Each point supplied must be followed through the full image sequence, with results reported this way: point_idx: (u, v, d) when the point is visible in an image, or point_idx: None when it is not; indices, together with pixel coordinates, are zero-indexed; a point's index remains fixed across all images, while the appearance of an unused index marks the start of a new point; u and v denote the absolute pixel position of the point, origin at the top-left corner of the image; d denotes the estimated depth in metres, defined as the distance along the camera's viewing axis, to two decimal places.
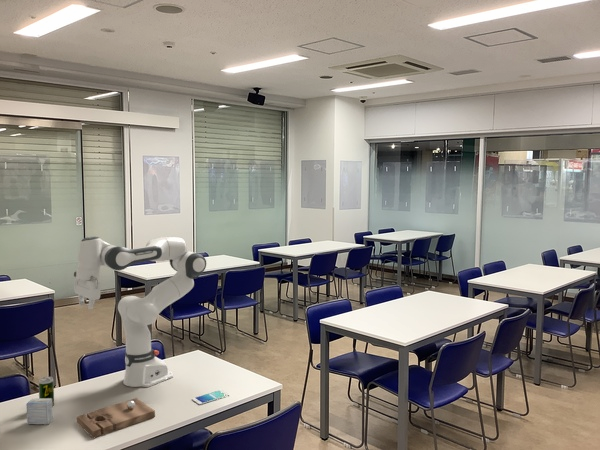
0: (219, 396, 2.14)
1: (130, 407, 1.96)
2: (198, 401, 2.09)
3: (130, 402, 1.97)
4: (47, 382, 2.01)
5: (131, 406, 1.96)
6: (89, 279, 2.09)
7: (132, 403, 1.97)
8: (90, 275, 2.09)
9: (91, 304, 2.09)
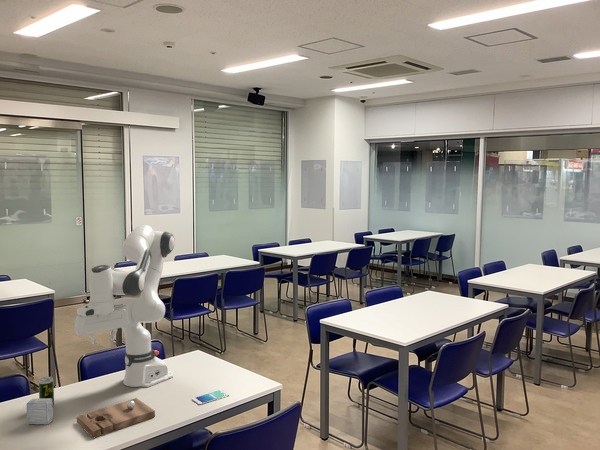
0: (219, 396, 2.14)
1: (130, 407, 1.96)
2: (198, 401, 2.09)
3: (130, 402, 1.97)
4: (47, 382, 2.01)
5: (131, 406, 1.96)
6: (113, 309, 1.98)
7: (132, 403, 1.97)
8: (113, 305, 1.98)
9: None
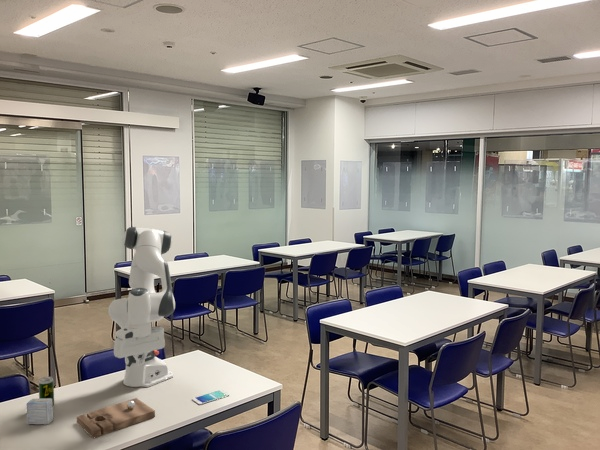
0: (219, 396, 2.14)
1: (130, 407, 1.96)
2: (198, 401, 2.09)
3: (130, 402, 1.97)
4: (47, 382, 2.01)
5: (131, 406, 1.96)
6: (151, 331, 2.01)
7: (132, 403, 1.97)
8: None
9: None
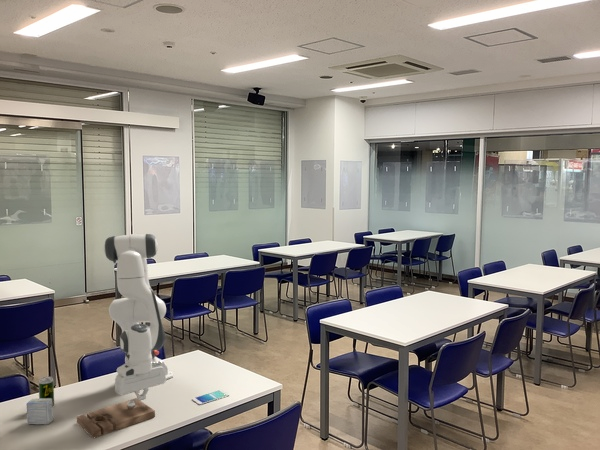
0: (219, 396, 2.14)
1: (130, 407, 1.96)
2: (198, 401, 2.09)
3: (130, 402, 1.97)
4: (47, 382, 2.01)
5: (131, 406, 1.96)
6: (152, 367, 2.01)
7: (132, 403, 1.97)
8: None
9: None
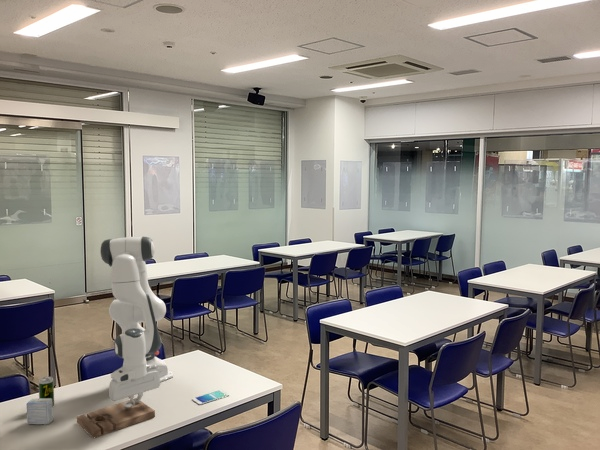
0: (219, 396, 2.14)
1: (128, 409, 1.96)
2: (198, 401, 2.09)
3: (125, 405, 1.95)
4: (47, 382, 2.01)
5: (129, 408, 1.95)
6: None
7: (128, 405, 1.95)
8: None
9: None
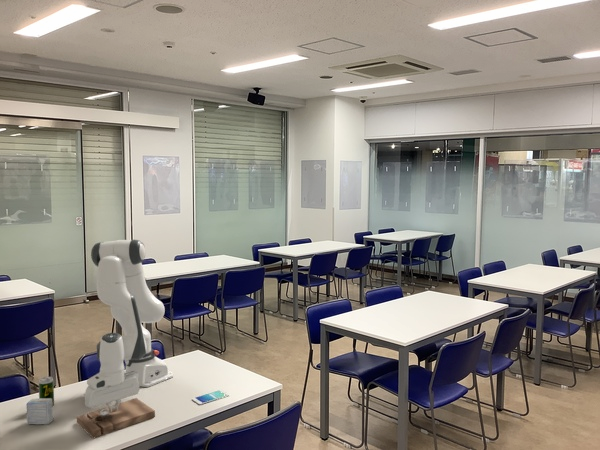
0: (219, 396, 2.14)
1: (104, 416, 1.89)
2: (198, 401, 2.09)
3: (102, 412, 1.89)
4: (47, 382, 2.01)
5: (104, 415, 1.89)
6: (124, 377, 1.94)
7: (104, 412, 1.89)
8: None
9: None
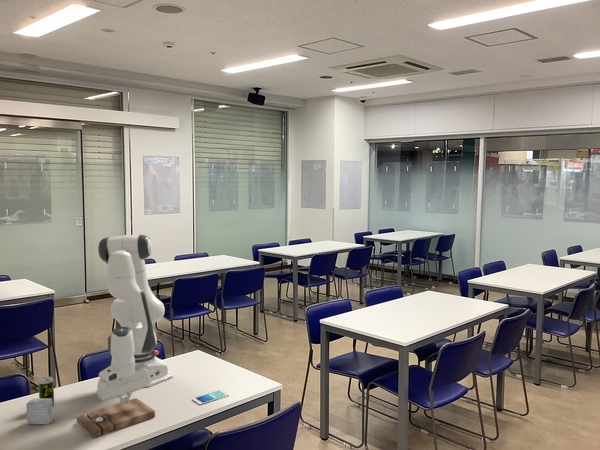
0: (219, 396, 2.14)
1: None
2: (198, 401, 2.09)
3: None
4: (47, 382, 2.01)
5: None
6: None
7: None
8: None
9: None
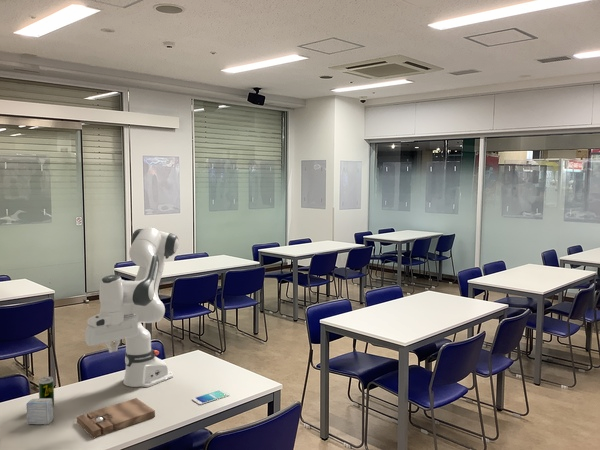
0: (219, 396, 2.14)
1: None
2: (198, 401, 2.09)
3: None
4: (47, 382, 2.01)
5: None
6: (123, 319, 1.99)
7: None
8: (123, 314, 1.99)
9: None
